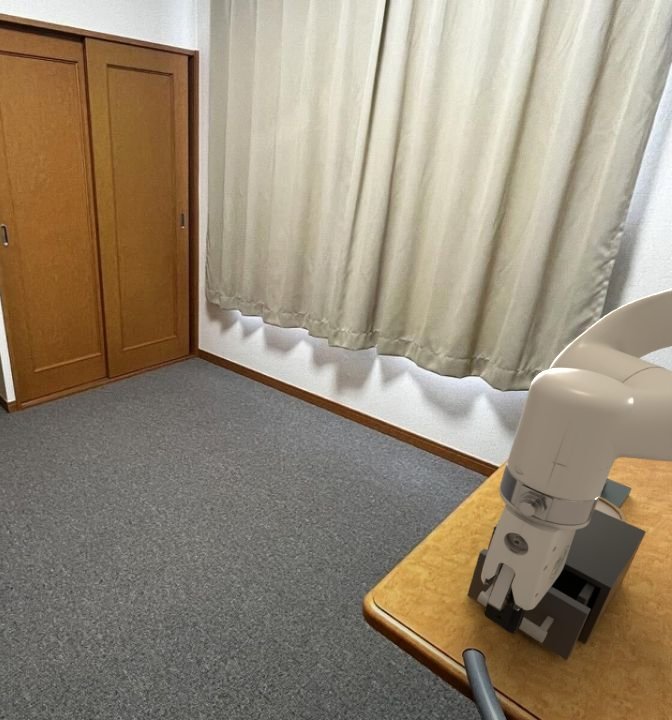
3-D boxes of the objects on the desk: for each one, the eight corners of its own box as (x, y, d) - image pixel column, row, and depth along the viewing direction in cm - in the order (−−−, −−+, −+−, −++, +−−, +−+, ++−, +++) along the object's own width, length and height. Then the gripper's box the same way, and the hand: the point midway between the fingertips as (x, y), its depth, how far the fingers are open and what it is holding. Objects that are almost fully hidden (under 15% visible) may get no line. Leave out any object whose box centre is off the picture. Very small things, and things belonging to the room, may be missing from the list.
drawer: (554, 681, 53) (574, 634, 50) (452, 611, 62) (464, 567, 59) (603, 600, 63) (623, 556, 60) (509, 549, 71) (523, 508, 68)
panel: (628, 495, 83) (635, 479, 82) (612, 518, 78) (619, 501, 77) (549, 463, 92) (554, 448, 91) (530, 482, 87) (535, 466, 86)
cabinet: (585, 644, 58) (611, 588, 55) (478, 578, 68) (494, 526, 64) (621, 584, 66) (646, 531, 63) (521, 532, 76) (537, 483, 72)
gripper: (563, 549, 40) (509, 689, 47) (617, 480, 48) (564, 609, 55) (471, 502, 45) (435, 634, 53) (534, 447, 54) (495, 568, 61)
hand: (501, 621), depth 54 cm, fingers closed
